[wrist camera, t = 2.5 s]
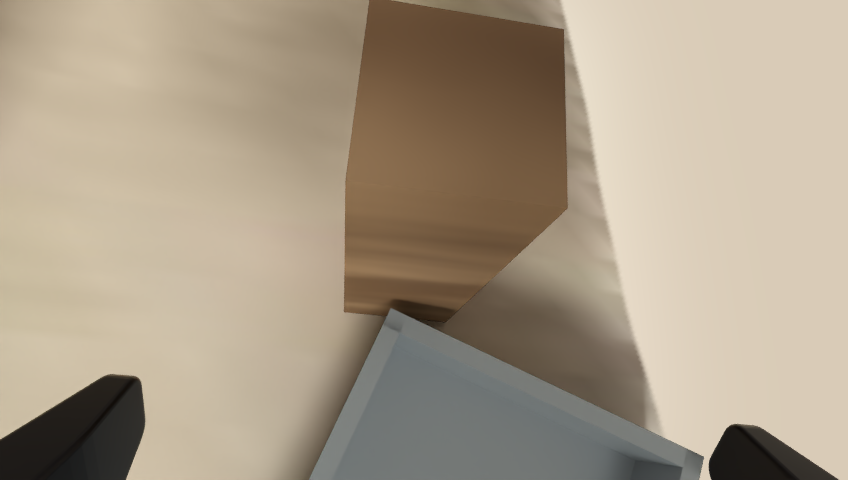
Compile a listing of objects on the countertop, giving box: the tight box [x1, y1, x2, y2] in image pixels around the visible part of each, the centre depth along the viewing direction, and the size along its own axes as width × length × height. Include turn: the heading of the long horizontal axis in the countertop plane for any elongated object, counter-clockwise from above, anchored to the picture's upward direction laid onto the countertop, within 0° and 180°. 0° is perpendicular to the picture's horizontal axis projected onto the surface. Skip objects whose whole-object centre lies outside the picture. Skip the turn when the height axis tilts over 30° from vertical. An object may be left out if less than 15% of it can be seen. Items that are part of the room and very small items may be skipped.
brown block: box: [344, 0, 568, 322], centre depth 16 cm, size 4×4×12 cm
